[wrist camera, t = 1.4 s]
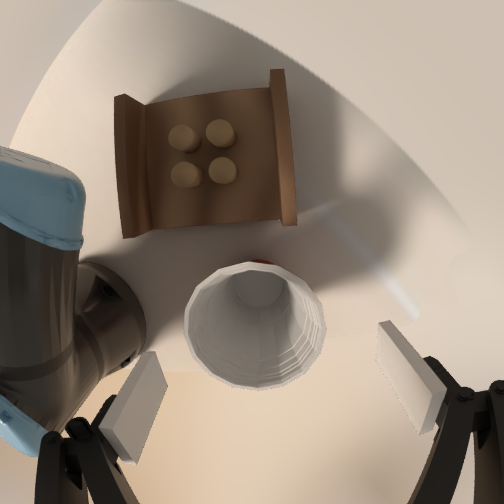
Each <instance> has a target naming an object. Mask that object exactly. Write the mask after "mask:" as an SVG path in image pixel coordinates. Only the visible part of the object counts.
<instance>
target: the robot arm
mask: <svg viewBox="0 0 504 504" xmlns="http://www.w3.org/2000/svg"><path fill="white" fill-rule="evenodd" d="M85 203H86V193H85V188H84V186H83V184H82V182H81V180H80V179H79V178H78V177H77V176H76V175H75V174H74V173H73V172H71V171H69V170H68V169H66V168H64V167H62V166H59V165H57V164H55V163H52V162H50V161H47V160H44V159H42V158H39V157H36V156H33V155H30V154H27V153H23V152H20V151H16V150H13V149H9V148H5V147H1V146H0V438H2V439H3V440H4V441H5V442H6V443H8V444H9V445H10V446H12V447H13V448H14V449H16V450H17V451H19V452H21V453H22V454H24V455H27V456H30V457H38V465H37V474H36V484H35V502H34V504H89V502H88V490H89V492H90V495H91V497H92V500H93V502H94V504H140V503H139V502H138V500H137V498H136V496H135V495H134V493H133V491H132V489H131V487H130V486H129V484H128V482H127V480H126V478H125V476H124V474H123V472H122V470H121V468H120V466H119V464H118V463H117V462H116V461H117V458H118V456H119V457H120V459H121V460H122V461H123V462H124V463H128V464H134V465H137V463H138V461H139V458H140V455H141V453H142V450H143V448H144V445H145V442H146V440H147V437H148V435H149V432H150V429H151V427H152V425H153V422H154V420H155V417H156V415H157V412H158V410H159V407H160V405H161V402H162V399H163V397H164V394H165V392H166V390H167V387H168V385H167V383H166V380H165V378H164V375H163V372H162V369H161V367H160V364H159V361H158V359H157V356H156V353H155V351H149V352H143V354H142V355H141V357H140V358H139V360H138V362H137V363H136V365H135V367H134V368H133V370H132V371H131V373H130V375H129V377H128V378H127V380H126V381H125V383H124V385H123V386H122V388H121V390H120V391H119V393H118V395H111V396H110V397H109V398H108V399H107V400H106V401H105V403H104V404H103V406H102V408H101V409H100V410H99V412H98V414H97V415H96V417H95V419H94V420H93V422H92V423H91V425H90V424H89V422H88V421H87V420H86V419H85V418H83V417H76V418H73V416H74V415H75V414H76V412H77V411H78V410H79V408H80V407H81V405H82V404H83V403H84V401H85V400H86V399H87V397H88V396H89V395H90V393H91V392H92V391H93V389H94V388H95V386H96V385H97V384H98V383H99V381H100V380H101V379H102V378H104V377H106V376H108V375H110V374H112V373H114V372H116V371H118V370H120V369H122V368H124V367H126V366H127V365H129V364H130V363H131V362H132V361H133V360H134V359H135V357H136V356H137V355H138V353H139V352H140V350H141V349H142V347H143V344H144V341H145V337H146V324H145V318H144V314H143V311H142V308H141V306H140V304H139V301H138V300H137V298H136V296H135V294H134V293H133V291H132V290H131V289H130V287H129V286H128V285H127V284H126V283H125V282H124V281H123V280H122V279H121V278H120V277H119V276H118V275H117V274H115V273H114V272H113V271H111V270H109V269H108V268H106V267H104V266H101V265H98V264H95V263H79V264H78V261H79V252H80V249H81V248H82V245H83V242H84V239H83V235H82V227H83V218H84V210H85ZM376 362H377V364H378V365H379V367H380V369H381V370H382V372H383V374H384V375H385V377H386V379H387V380H388V382H389V384H390V386H391V387H392V389H393V391H394V392H395V394H396V396H397V398H398V399H399V401H400V403H401V405H402V406H403V408H404V410H405V412H406V413H407V415H408V417H409V418H410V421H411V422H412V424H413V426H414V428H415V429H416V431H417V433H418V435H421V434H424V433H426V432H429V431H431V430H433V427H434V424H435V422H436V423H437V425H438V427H439V428H438V431H437V433H436V436H435V438H434V443H433V445H432V448H431V451H430V454H429V457H428V459H427V462H426V464H425V466H424V469H423V471H422V474H421V476H420V478H419V480H418V483H417V485H416V487H415V489H414V491H413V493H412V495H411V497H410V500H409V502H408V503H407V504H450V502H451V500H452V497H453V494H454V491H455V489H456V486H457V483H458V479H459V476H460V473H461V470H462V466H463V463H464V459H465V455H466V451H467V447H468V443H469V439H470V433H471V432H473V436H474V455H475V487H474V504H504V380H497V381H494V382H493V383H491V386H490V387H489V390H486V391H480V392H475V391H474V390H472V389H471V388H468V387H461V386H460V385H459V384H458V383H457V382H456V381H455V379H454V378H453V377H452V376H451V375H450V374H449V372H447V371H446V369H445V368H444V367H443V366H442V364H441V363H440V362H439V361H438V360H437V359H435V358H433V357H431V356H428V357H425V358H422V357H421V356H420V355H419V354H418V352H417V351H416V350H415V349H414V348H413V346H412V345H411V344H410V343H409V342H408V341H407V339H406V338H405V337H404V336H403V335H402V334H401V332H400V331H399V330H398V329H397V328H396V327H395V326H394V324H393V323H392V322H391V321H390V320H389V321H385V322H380V323H378V338H377V353H376ZM72 418H73V419H72ZM64 429H65V430H66V432H67V433H68V435H69V436H70V437H71V438H63V437H62V436H61V433H62V432H63V430H64ZM87 487H88V490H87Z"/></svg>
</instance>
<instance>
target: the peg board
mask: <svg viewBox="0 0 504 504" xmlns="http://www.w3.org/2000/svg"><path fill="white" fill-rule="evenodd" d="M114 142H115V164H116V179H117V191H118V201H119V210H120V219H121V227H122V234H123V239H126V238H134V237H137V236H139V235H141V234H144V233H146V232H148V231H151V230H153V229H163V228H173V227H184V226H196V225H208V224H221V223H234V222H248V221H262V220H278V219H280V220H281V223H282V225H283V226H294V225H297V213H296V196H295V181H294V167H293V154H292V142H291V131H290V120H289V110H288V101H287V91H286V83H285V74H284V69H272V70H270V87H269V88H255V89H243V90H233V91H224V92H216V93H208V94H202V95H195V96H189V97H183V98H178V99H173V100H168V101H163V102H158V103H153V104H149V105H143V104H142V103H140V102H138V101H137V100H135V99H133V98H132V97H130V96H128V95H126V94H122V95H118V96H115V97H114Z"/></svg>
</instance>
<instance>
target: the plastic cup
mask: <svg viewBox="0 0 504 504" xmlns="http://www.w3.org/2000/svg"><path fill="white" fill-rule="evenodd" d="M325 334H326V324H325V319H324V314H323V310H322V305H321V302H320V301H319V300H318V298H317V297H316V296H315V294H314V293H313V292H312V290H311V289H310V288H309V286H308V285H307V284H306V282H305V281H304V280H302V279H301V278H299V277H297V276H295V275H294V274H292V273H290V272H288V271H287V270H285V269H283V268H281V267H280V266H277V265H274V264H272V263H270V262H268V261H264V260H253V261H249V262H244V263H240V264H236V265H232V266H229V267H225V268H221V269H218V270H217V271H216V272H214V273H213V274H212V275H210V276H209V277H208V278H206V279H205V280H204V281H203V282H201V283H200V284H199V285H197V286H196V288H195V290H194V292H193V294H192V296H191V298H190V300H189V302H188V304H187V306H186V308H185V314H184V336H185V339H186V341H187V344H188V346H189V349H190V351H191V354H192V356H193V358H194V359H195V360H196V361H197V362H198V363H199V364H200V365H201V367H202V368H203V369H204V370H205V371H206V372H207V373H208V374H209V375H210V376H212V377H214V378H216V379H218V380H220V381H221V382H223V383H226V384H228V385H229V386H231V387H235V388H241V389H248V390H255V391H261V390H266V389H272V388H277V387H282V386H285V385H286V384H288V383H290V382H292V381H293V380H295V379H297V378H298V377H300V376H302V375H303V374H305V373H306V372H307V371H308V369H309V368H310V367H311V365H312V364H313V363H314V362H315V360H316V359H317V358H318V356H319V355H320V354H321V350H322V346H323V342H324V338H325Z"/></svg>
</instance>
